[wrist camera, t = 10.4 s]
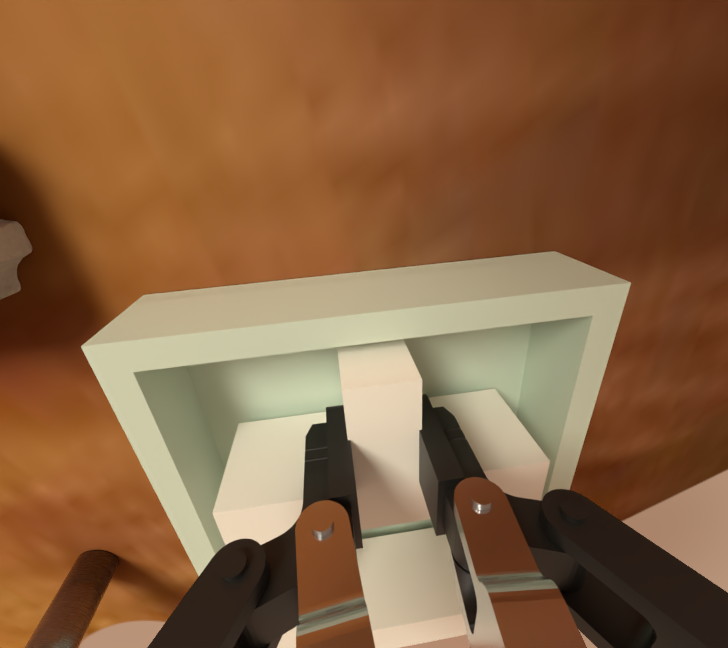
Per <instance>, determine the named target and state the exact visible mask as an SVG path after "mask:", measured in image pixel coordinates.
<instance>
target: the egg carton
mask: <svg viewBox="0 0 728 648" xmlns="http://www.w3.org/2000/svg"><path fill="white" fill-rule="evenodd" d="M31 252H32V246H31V243H30V241H29V239H28V238H27V236H26V234H25V231H24V229H23V227H22V226H21V225H20V224H19V223H18V222H17V221H7V220H2V219H0V300H1V299H3V298H5V297H8V296H10V295H12V294H15V293H17V292H19V291H20V290H21V285H20V283H19V281H18V277H17V267H18V264H19V263H20V261H21V260H22V258H24V257H25V256H27V255H28V254H29V253H31Z"/></svg>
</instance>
